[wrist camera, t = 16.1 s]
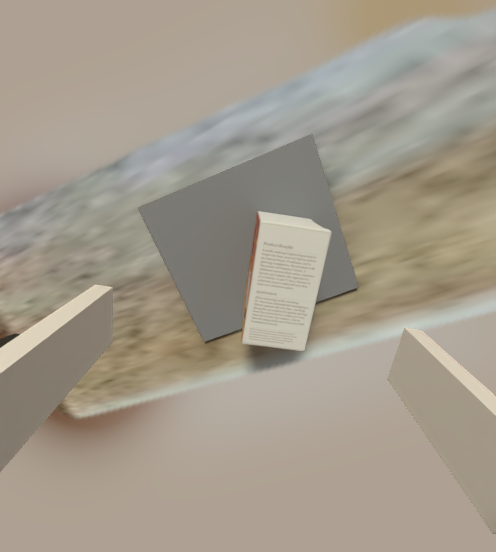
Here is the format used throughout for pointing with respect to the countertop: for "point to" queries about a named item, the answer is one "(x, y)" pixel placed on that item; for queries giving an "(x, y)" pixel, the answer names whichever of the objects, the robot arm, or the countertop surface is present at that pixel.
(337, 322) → the countertop surface
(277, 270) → the small box
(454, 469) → the robot arm
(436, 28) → the countertop surface
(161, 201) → the slate mat
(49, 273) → the countertop surface
